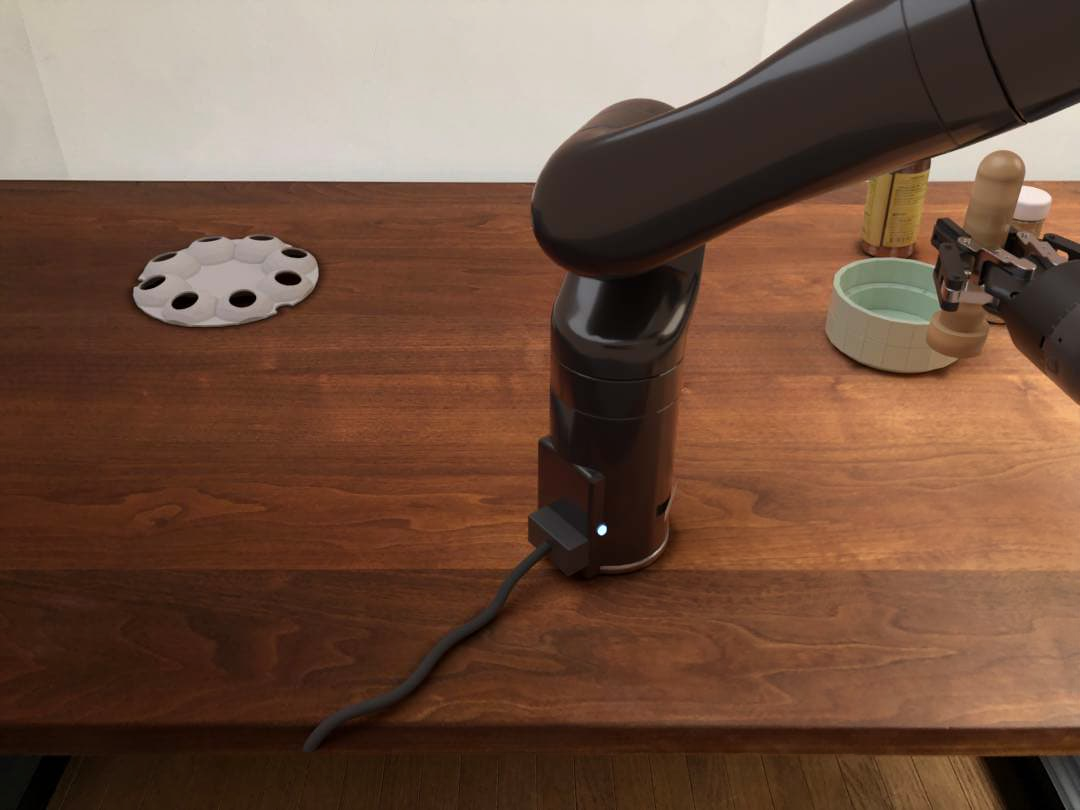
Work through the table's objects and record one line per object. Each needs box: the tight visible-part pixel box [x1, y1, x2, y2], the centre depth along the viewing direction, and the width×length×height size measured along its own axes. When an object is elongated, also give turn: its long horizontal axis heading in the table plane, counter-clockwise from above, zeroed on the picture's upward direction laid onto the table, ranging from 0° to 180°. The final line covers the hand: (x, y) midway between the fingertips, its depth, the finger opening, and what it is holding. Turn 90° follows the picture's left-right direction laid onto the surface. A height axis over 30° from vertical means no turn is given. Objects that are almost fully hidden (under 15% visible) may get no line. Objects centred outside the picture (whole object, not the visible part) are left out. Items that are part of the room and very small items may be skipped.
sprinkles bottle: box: [984, 185, 1053, 324], centre depth 106 cm, size 5×5×14 cm
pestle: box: [926, 149, 1027, 360], centre depth 79 cm, size 4×4×16 cm
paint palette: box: [132, 233, 320, 328], centre depth 114 cm, size 20×20×2 cm
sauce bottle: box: [860, 158, 932, 259], centre depth 116 cm, size 7×6×20 cm
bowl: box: [824, 257, 959, 374], centre depth 103 cm, size 13×13×6 cm
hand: (961, 227), depth 81 cm, fingers closed on pestle, 3 cm apart
